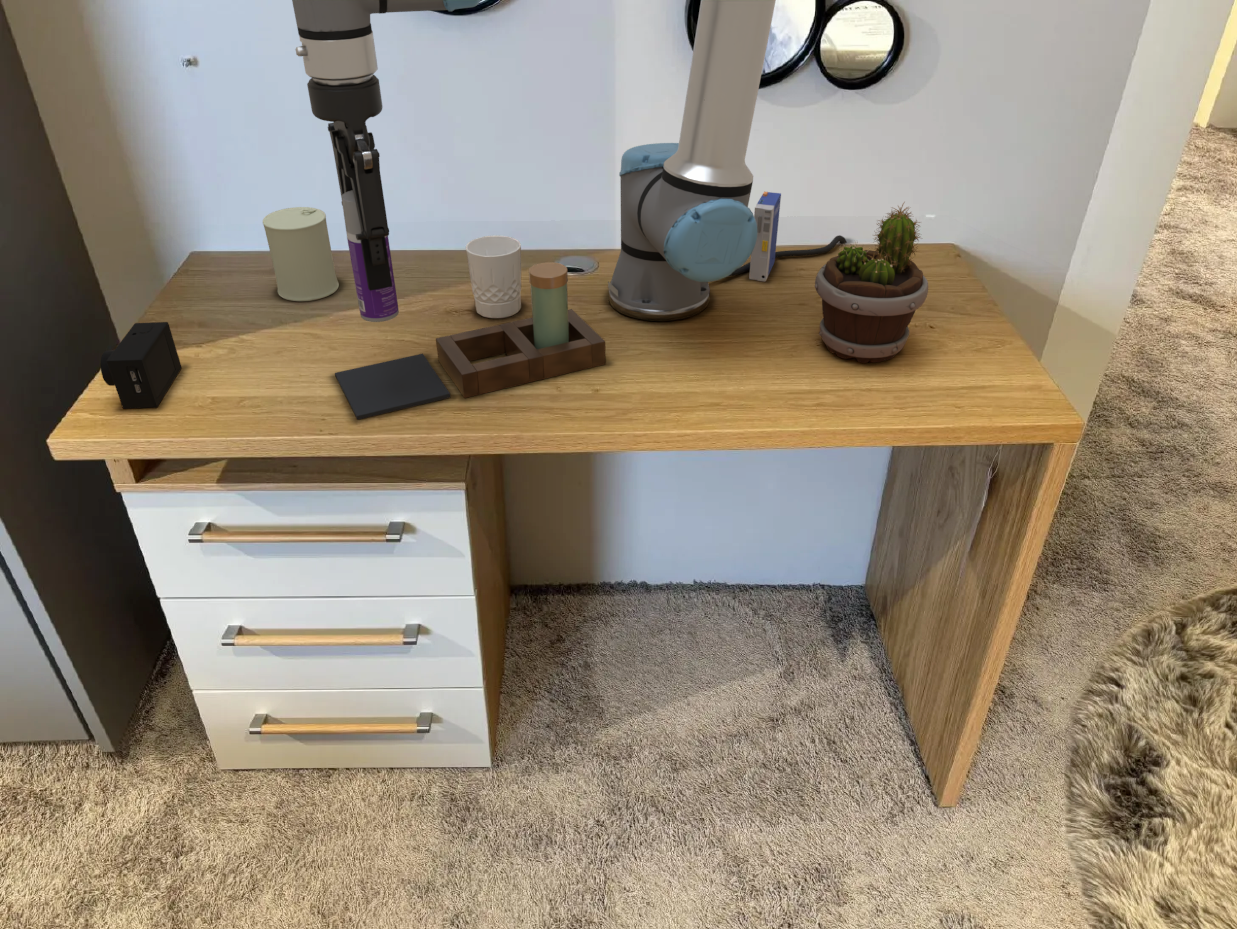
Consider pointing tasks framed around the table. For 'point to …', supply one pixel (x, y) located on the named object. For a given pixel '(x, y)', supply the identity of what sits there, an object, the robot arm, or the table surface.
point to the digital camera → (142, 365)
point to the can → (301, 253)
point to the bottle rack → (516, 355)
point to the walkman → (765, 236)
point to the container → (373, 302)
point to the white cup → (495, 275)
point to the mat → (391, 386)
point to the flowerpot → (872, 293)
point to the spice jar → (549, 304)
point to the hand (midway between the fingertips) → (374, 278)
